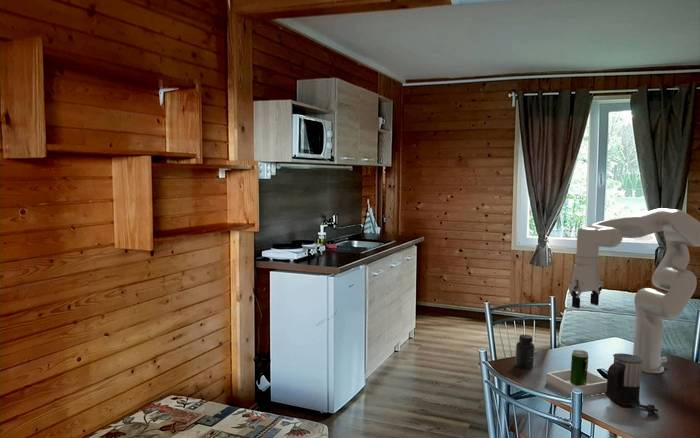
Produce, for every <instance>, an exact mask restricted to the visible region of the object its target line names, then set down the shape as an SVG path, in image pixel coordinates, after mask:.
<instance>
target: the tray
mask: <svg viewBox="0 0 700 438" xmlns="http://www.w3.org/2000/svg"><path fill="white" fill-rule="evenodd" d="M570 376H571V368H569V369H563V370H562V369H561V370H557V371H551V372H546V374H545V384H546V385H547V386H549V387H552V388H554V389H556V390H557V391H559V392H561V393H562V394H565V395H567V396H569V397H571V392H572V390H573V389H574V388H579V389H581V390H582V391H583V398H588V397H587V396H589V397H592V396H591V395H595V396H597V395H596V394H600V395H603V394H602V393H605V394H607V393H606V392H607V378H604V377H602V376H600V375H598V374H595V373H592V372H591V371H588V370H587V384H586V385H582V386H575V385H573V384H571V383H570ZM583 398H582V399H583Z"/></svg>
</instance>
